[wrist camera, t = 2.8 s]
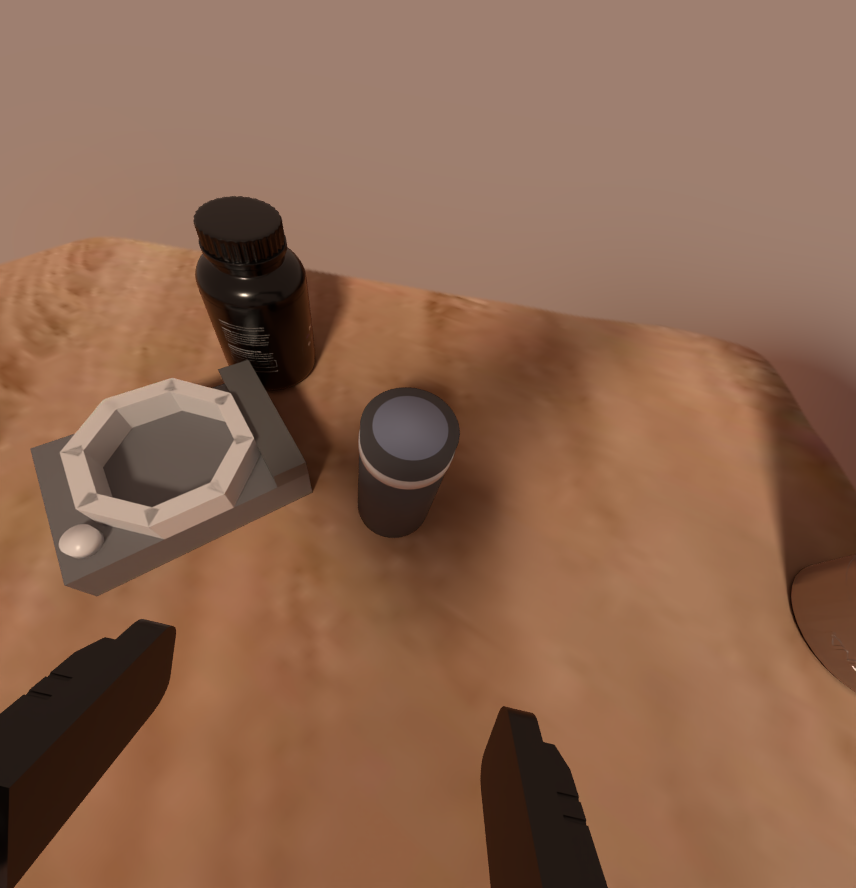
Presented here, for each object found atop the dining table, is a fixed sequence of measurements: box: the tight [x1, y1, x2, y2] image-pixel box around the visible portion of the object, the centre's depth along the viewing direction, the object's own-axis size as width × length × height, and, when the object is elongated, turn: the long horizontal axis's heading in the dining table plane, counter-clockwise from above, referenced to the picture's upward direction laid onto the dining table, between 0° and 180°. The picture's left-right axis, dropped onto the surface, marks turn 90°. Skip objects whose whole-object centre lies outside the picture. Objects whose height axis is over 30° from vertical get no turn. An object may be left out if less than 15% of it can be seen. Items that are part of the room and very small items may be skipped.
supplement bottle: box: [194, 196, 315, 390], centre depth 28 cm, size 7×7×12 cm
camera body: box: [31, 360, 312, 596], centre depth 25 cm, size 13×9×5 cm
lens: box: [358, 388, 460, 538], centre depth 24 cm, size 5×5×10 cm
